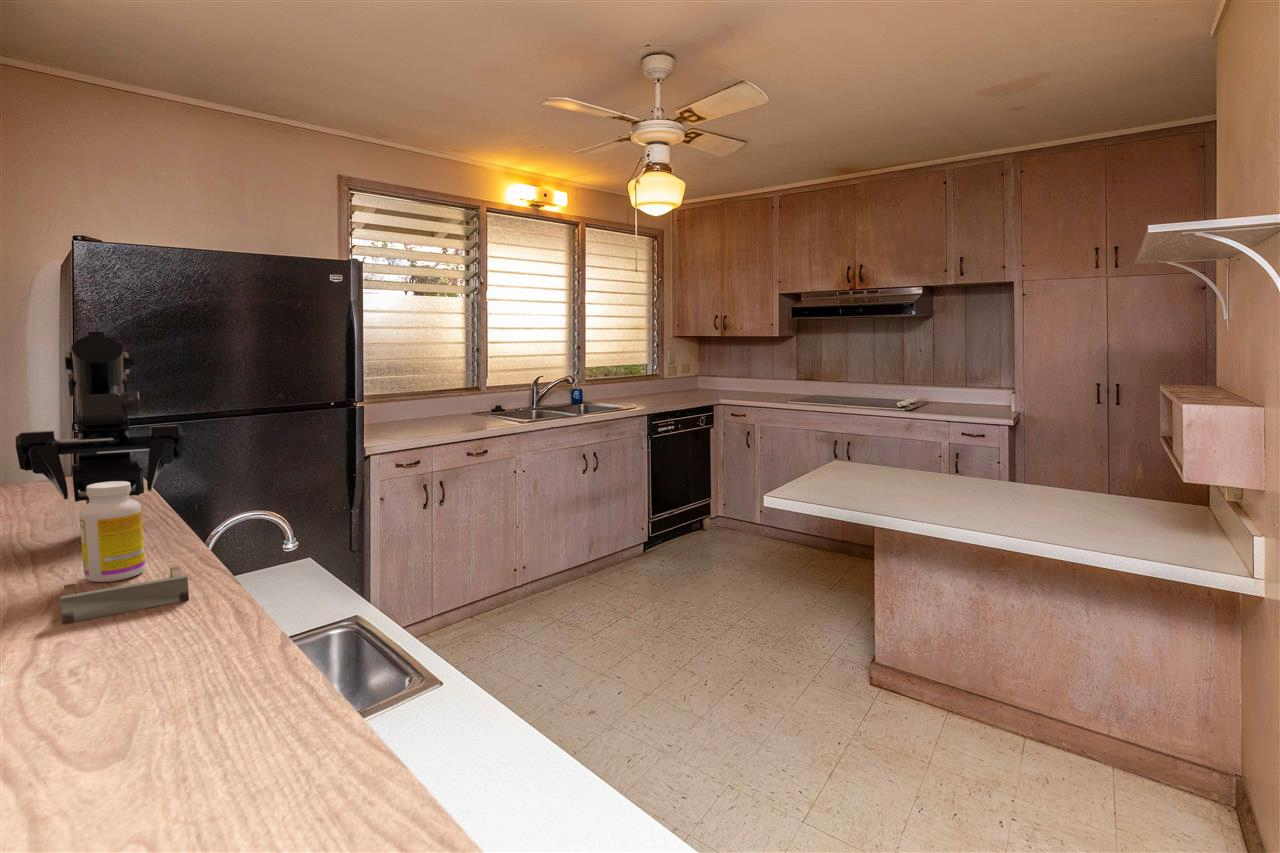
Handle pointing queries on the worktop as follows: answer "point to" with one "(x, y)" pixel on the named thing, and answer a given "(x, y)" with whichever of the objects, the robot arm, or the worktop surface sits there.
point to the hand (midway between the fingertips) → (109, 493)
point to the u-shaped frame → (123, 597)
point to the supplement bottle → (111, 533)
